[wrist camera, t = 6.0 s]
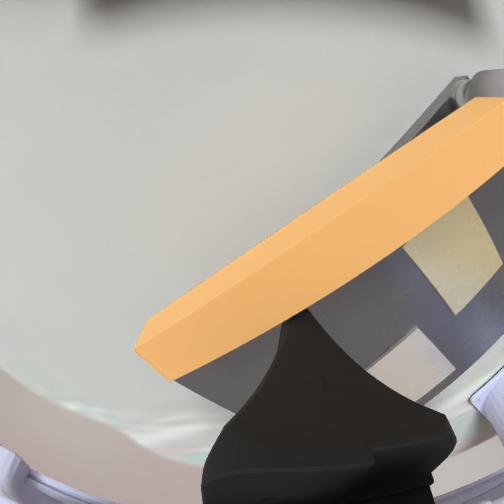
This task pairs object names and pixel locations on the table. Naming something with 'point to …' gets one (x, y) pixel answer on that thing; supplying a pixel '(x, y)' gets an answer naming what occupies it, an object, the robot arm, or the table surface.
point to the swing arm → (334, 237)
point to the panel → (402, 300)
